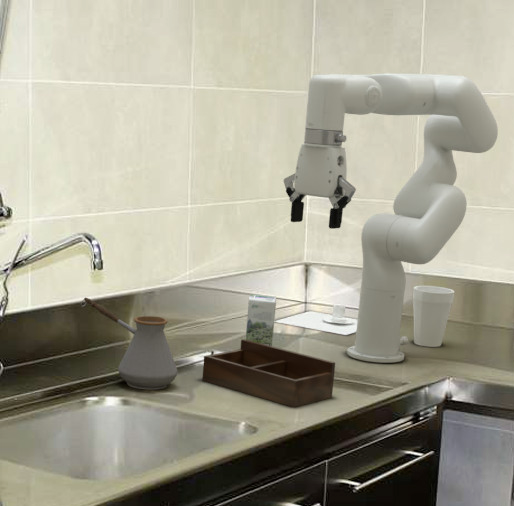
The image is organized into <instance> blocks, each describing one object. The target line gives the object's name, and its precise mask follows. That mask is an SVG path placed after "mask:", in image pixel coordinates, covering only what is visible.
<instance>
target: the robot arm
mask: <svg viewBox="0 0 514 506" xmlns="http://www.w3.org/2000/svg"><path fill="white" fill-rule="evenodd" d="M307 93H308V94H307V104H306V116H305V125H304V126H305V127H304V137H303V138H304V139H303V144H301V145H300V149H299V152H298V157H297V160H296V166H295V172H294V173H293V174H291V175H289V176H286V177H284V178H283V185H284V187H285V192H286V194H287V196H288V198H289V202H290V203H291V206H290V207H291V208H290V222H291V223H301V222H303V220H304V209H305V203H304V201H303V200H304V199H305V197H306V196H311V197H317V198H325V199H328V200H329V202H330V203H331V205H332V208H330V209H329V219H328V228H329V229H332V230H334V229H341V226H342V222H343V210H344V209H346V206H347V205H348V204H349V203H350V202H352V198H353V196H354V195H355V193H356V191H357V189H356V187H355V186H354V185H353V184H351V183H350V182H349V181H347V170H348V169H347V155H346V148H345V147H342V146H343V143H345V142H347V135H345V134H344V124H345V115H346V114H348V115H357V116H358V115H359V116H364V115H369V114H377V115H382V116H383V115H384V116H427V115H428V118H427V119H426V121H425V124H424V127H423V157H422V162H421V163H420V165H419V167H417V169H416V171H415V172H414V173H413V174H412V175H411V177H410V178H409V179H408V181H406V183H405V184H404V185H403V187H402V188H401V189H400V191H398V193H397V195H396V197H395V199H394V200H393V205H392V208H393V209H392V210H393V212H394V214H393V213H387V212H386V213H385V212H384V213H377V214H373V215H372V216H370V217H369V218H368V219H367V220H366V221H365V223H364V224H363V226H362V230H361V235H360V236H361V237H360V238H361V239H360V241H361V251H362V272H361V284H360V293H359V300H358V301H359V302H358V310H357V311H358V312H357V330H356V332H355V341H354V345H352V346H350V347H348V348H347V349H346V354H347V356H348V357H350V358H353V359H355V360H360V361H363V362H370V363H377V364H378V363H379V364H393V363H401V362H402V361H404V359H405V353H404V352H402V351H401V350H400V347H401V346H405V345H407V344H408V343H409V338H408V337H407V336H405V335H404V336H400V335H401V327H402V326H401V325H402V319H403V318H402V317H403V310H404V309H403V307H404V299H405V290H406V283H407V282H406V278H407V277H406V273H405V269H404V266H403V263H407V264H413V265H425V264H428V263H430V262H431V261H433V259H435V258H436V257H437V256H438V254H439V253H440V252H441V251H442V249H443V248H444V247H445V246H446V244H447V243H448V242H449V240H450V239H451V238H452V237H453V235H454V234H455V233H456V231H457V230H458V229H459V227H460V226H461V225H462V222H463V220H464V218H465V216H466V213H467V207H468V205H467V204H468V203H467V197H466V195H465V193H464V191H463V190H462V189H461V188H460V187H457V186H455V185H454V184H455V183H456V180H457V177H458V172H457V171H458V170H457V167H456V164H455V159H454V155H453V151H454V152H463V153H473V154H483V153H486V152H488V151H490V150H491V149H492V148H493V147H494V146H495V144H496V142H497V140H498V135H499V133H498V132H499V131H498V128H499V127H498V124H497V120H496V118H495V116H494V113H493V112H492V110H491V108H490V107H489V105H488V103H487V101H486V99H485V98H484V95H483V93H482V92H481V90H480V89H479V87H478V86H477V85H476V84H475V82H474V81H473V80H472V79H470V77H467V76H465V75H464V76H463V75H455V74H453V75H452V74H451V75H450V74H437V73H375V74H373V73H372V74H349V73H347V74H344V73H343V74H341V73H329V74H315V75H312V76H311V77H310V79H309V83H308V92H307ZM402 262H403V263H402Z"/></svg>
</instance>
